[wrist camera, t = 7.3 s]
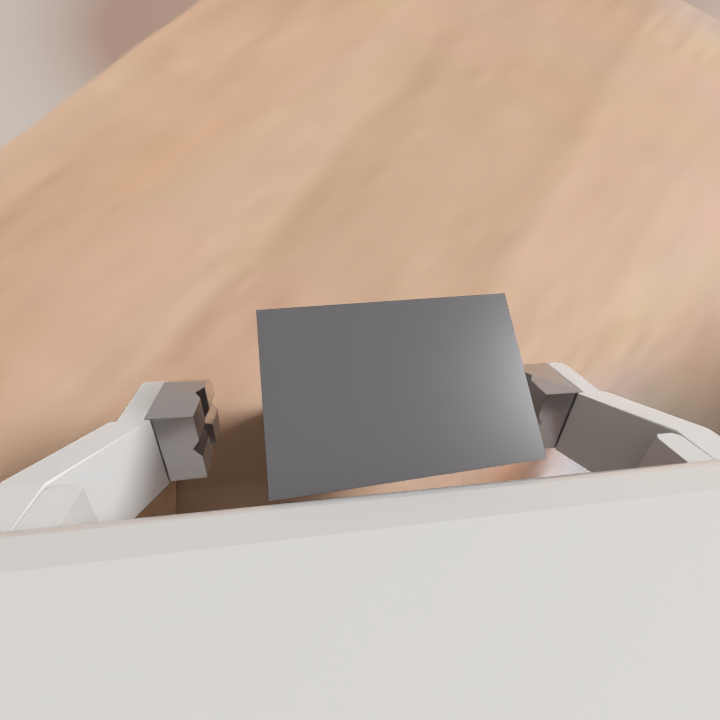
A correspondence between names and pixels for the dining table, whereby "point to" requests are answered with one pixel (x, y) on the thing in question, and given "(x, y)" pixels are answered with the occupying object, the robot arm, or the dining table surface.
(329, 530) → the robot arm
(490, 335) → the plug
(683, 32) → the dining table surface
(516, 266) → the dining table surface
